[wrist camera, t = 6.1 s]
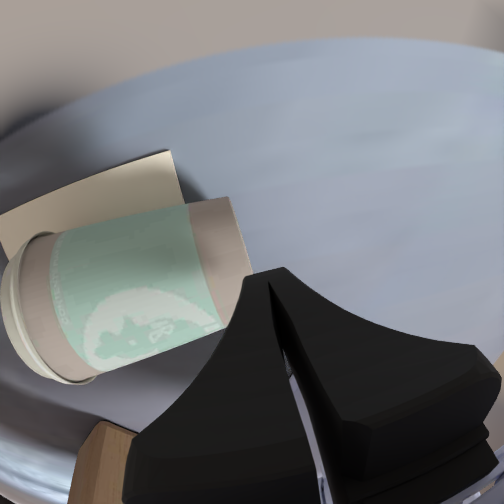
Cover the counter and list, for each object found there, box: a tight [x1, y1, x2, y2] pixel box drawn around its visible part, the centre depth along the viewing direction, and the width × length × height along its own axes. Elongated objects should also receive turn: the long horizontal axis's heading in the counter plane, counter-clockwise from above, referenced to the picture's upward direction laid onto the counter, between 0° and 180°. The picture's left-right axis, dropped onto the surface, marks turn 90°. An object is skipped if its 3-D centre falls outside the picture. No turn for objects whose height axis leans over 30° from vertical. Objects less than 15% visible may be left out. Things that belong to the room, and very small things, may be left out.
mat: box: [0, 150, 185, 261], centre depth 19 cm, size 14×11×1 cm
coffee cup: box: [0, 197, 253, 385], centre depth 15 cm, size 9×9×12 cm
